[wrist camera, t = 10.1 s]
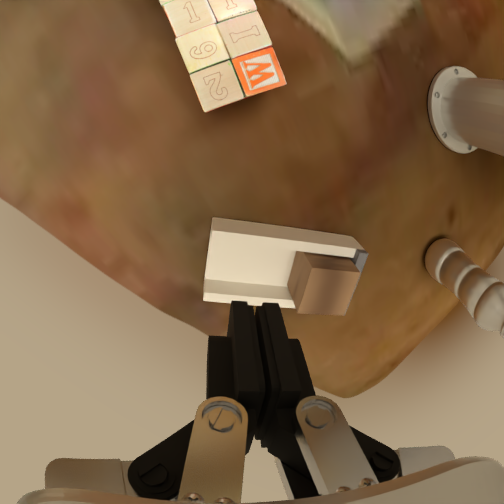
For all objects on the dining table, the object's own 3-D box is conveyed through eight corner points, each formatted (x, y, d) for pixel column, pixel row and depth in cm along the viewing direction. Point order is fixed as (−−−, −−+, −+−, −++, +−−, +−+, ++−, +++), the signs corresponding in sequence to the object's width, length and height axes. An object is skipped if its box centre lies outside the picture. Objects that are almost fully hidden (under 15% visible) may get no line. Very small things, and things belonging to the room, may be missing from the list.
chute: (352, 236, 39) (368, 253, 35) (332, 293, 43) (344, 315, 38) (212, 217, 36) (212, 234, 31) (203, 282, 40) (203, 305, 35)
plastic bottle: (446, 226, 40) (537, 297, 22) (452, 258, 43) (531, 331, 25) (415, 247, 41) (502, 331, 23) (423, 278, 44) (498, 362, 26)
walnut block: (342, 248, 39) (360, 272, 33) (328, 288, 41) (343, 315, 36) (298, 243, 37) (311, 267, 32) (286, 284, 40) (297, 313, 35)
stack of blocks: (146, -39, 21) (119, -89, 10) (198, -57, 20) (194, -114, 9) (207, 111, 30) (203, 114, 20) (263, 92, 30) (288, 85, 19)
